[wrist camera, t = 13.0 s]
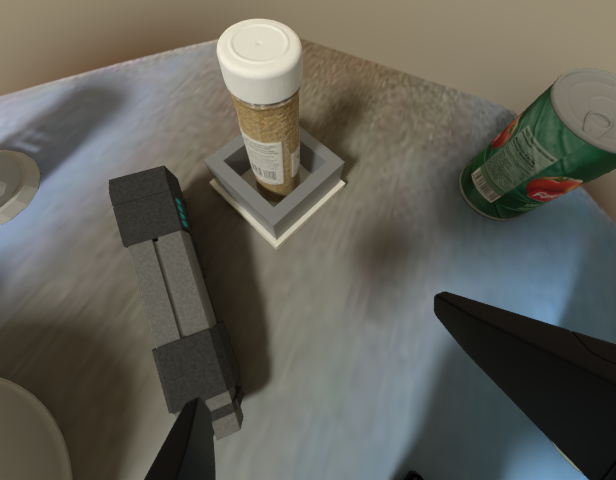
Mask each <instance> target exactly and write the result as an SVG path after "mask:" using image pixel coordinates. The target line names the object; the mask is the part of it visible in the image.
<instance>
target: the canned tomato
mask: <svg viewBox="0 0 616 480" xmlns="http://www.w3.org/2000/svg"><path fill="white" fill-rule="evenodd" d="M614 169H616V74H614V73H611V72H607V71H604V70H599V69H591V68H582V69H574V70H571V71H568V72H566V73H564V74H562V75H561V76H560V77H559V78H558V79H557V80H556V81H555V82H554V83H553V84H552V85H551V86H550V87H549V88H548V89H547V90H546V91H545V92H544V93H543V94H542V95H540V96H539V97H538V98H537V99H536V100H535V101H534V102H533V103H532V104H531V105H530V106H529V107H528V108H527V109H526V110H525V111H524V112H523V113H522V114H520V115H519V116H518V117H517V118H516V119H515V120H514V121H513V122H512V123H511V124H510V125H509V126H508V127H506V129H505V130H504V131H503V132H501V133H500V134H499V135H498V136H497V137H496V138H495V139H494V140H493V141H492V142H491V143H490V144H489V145H488V146H487V147H486V148H485V149H483V150H482V151H481V152H480V153H479V154H478V155H477V156H476V157H475V158H474V159H473V160H472V161H471V162H470V163H469V164H467V165H466V166H465V167H464V168H463V169H462V171H461V173H460V176H459V187H460V191H461V193H462V196H463V198H464V199H465V200H466V202H467V203H468V204H469V205H470V206H471V207H472V208H473V209H474V210H475V211H477V212H478V213H480V214H481V215H483V216H485V217H488V218H490V219H494V220H499V221H507V220H513V219H515V218H518V217H520V216H521V215H523V214H525V213H527V212H529V211H531V210H533V209H535V208H537V207H539V206H541V205H543V204H545V203H548V202H549V201H551V200H553V199H556V198H558V197H559V196H561V195H563V194H566V193H568V192H569V191H571V190H574V189H576V188H578V187H579V186H581V185H584V184H586V183H588V182H589V181H591V180H594V179H596V178H598V177H600V176H602V175H603V174H606V173H609V172H610V171H612V170H614Z"/></svg>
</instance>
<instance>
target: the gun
mask: <svg viewBox="0 0 616 480" xmlns="http://www.w3.org/2000/svg"><path fill="white" fill-rule="evenodd" d="M109 191H110V192H109V194H110V198H111V202H112V205H113V206H114V208H113V209H114V213H115V216H116V220H117V223H118V227H119V231H120V234H121V238H122V242H123V245H124V246H125V247H127V248H128V250H129V253H130V257H131V260H132V264H133V268H134V271H135V275H136V279H137V282H138V286H139V289H140V293H141V297H142V300H143V304H144V308H145V311H146V315H147V318H148V322H149V326H150V329H151V333H152V337H153V340H154V344H155V349H153V350H152V352H153V356H154V359H155V363H156V367H157V370H158V374H159V378H160V381H161V385H162V388H163V392H164V396H165V399H166V403H167V407H168V410H169V413H173V414H175V416H176V419H177V418H178V416H179V414H180V412H181V410H182V408H183V406H184V405H185V403H186V402H188V401H189V400H192V399H194V398H196V397H200V398H201V399H202V400H203V401H204V403H205V404H206V405H207V407H208V408H209V409H210V411H211V415H212V426H213V436H214V434H215V436H216V439H217V440H219V439H221V438H223V437H226V436H228V435H230V434H232V433H234V432H237V431H239V430H240V428H241V425H242V421H243V413H242V410H241V407H240V405H241V402H242V399H243V396H244V392H243V389H242V386H235V385H236V382H237V380H238V377H239V375H240V373H239V370H238V366H237V363H236V360H235V357H234V353H233V350H232V347H231V344H230V341H229V337H228V334H227V331H226V328H225V324H224V321H221V322H218V321H217V318H216V315H215V312H214V308H213V305H212V302H211V299H210V295H209V292H208V289H207V286H206V282H205V279H204V277H206V276H205V273H204V270H203V267H202V263H201V260H200V257H199V254H198V250H197V247H196V244H195V241H194V238H193V233H192V230H191V226H190V223H189V220H188V215H187V213H186V210H185V209H186V203H185V200H184V198H183V195H182V191H181V188H180V185H179V182H178V179H177V178H176V177H175V176H174V175H173V174H172V173H171V172H170V171H169V170H168V169H167V168H166V167H165V166H160V167H157V168H153V169H149V170H145V171H141V172H138V173H134V174H130V175H126V176H123V177H119V178H115V179H111V180H109Z"/></svg>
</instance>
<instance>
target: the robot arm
mask: <svg viewBox="0 0 616 480" xmlns="http://www.w3.org/2000/svg"><path fill="white" fill-rule="evenodd" d="M434 312H435V315H436V316H437V318H438V319H439V320H440V321H441V323H442V324H443V325H444V326H445V328H446V329H447V330H448V331H449V333H450V334H451V335H452V336H453V338H454V339H455V340H456V341H457V343H458V344H459V345H460V346H461V347H462V349H463V350H464V351H465V352H466V353H467V354H468V355H469V356H470V357H471V358H472V359H473V360H474V361H475V362H476V364H477V365H478V366H479V367H480V368H481V369H482V370H483V371H484V372H485V373H486V374H487V375H488V376H489V377H490V378H491V379H492V380H493V381H494V382H495V383H496V384H497V385H498V386H499V387H500V388H501V389H502V390H503V391H504V392H505V394H506V395H507V396H508V397H509V398H510V399H511V400H512V401H513V402H514V403H515V404H516V405H517V406H518V407H519V408H520V409H521V410H522V411H523V412H524V413H525V414H526V415H527V416H528V417H529V418H530V419H531V420H532V421H533V422H534V424H535V425H536V426H537V427H538V428H539V429H540V430H541V431H542V432H543V433H544V434H545V435H546V436H547V437H548V438H549V439H550V440H551V441H552V442H553V443H554V444H555V445H556V446H557V447H558V448H559V449H560V450H561V451H562V452H563V454H564V455H565V456H566V457H567V458H568V459H569V460H570V461H571V462H572V463H573V464H574V465H575V466H576V467H577V468H578V469H579V470H580V471H581V472H582V473H583V474H584V475H585V476H586V477H587V478H588V479H589V480H616V344H613V343H610V342H606V341H603V340H600V339H596V338H593V337H590V336H586V335H583V334H580V333H577V332H574V331H572V332H571V331H570V330H567V329H564V328H561V327H558V326H554V325H551V324H548V323H545V322H542V321H538V320H535V319H532V318H529V317H526V316H522V315H519V314H516V313H513V312H510V311H507V310H503V309H500V308H497V307H494V306H491V305H487V304H484V303H481V302H478V301H475V300H471V299H468V298H465V297H462V296H459V295H455V294H452V293H449V292H441V293H439V294H436V295H435V296H434ZM414 478H417V480H424V479H423V478H422V477H421V476H420V475H419V474H418V473H417V472H416V471H413V470H412V471H410V472H409V473H408V474H407V476H406V477H405V479H404V480H413V479H414ZM144 480H215V454H214V440H213V426H212V415H211V411H210V409H209V408H208V407H207V405H206V404H205V403H204V401H203V400H202V399H201V398H200V397H196V398H194V399H192V400H189V401H188V402H186V403H185V405H184V406H183V408H182V410H181V412H180V414H179V416H178V418H177V419H176V421H175V423H174V425H173V427H172V429H171V431H170V432H169V434H168V436H167V438H166V440H165V442H164V444H163V445H162V447H161V449H160V451H159V453H158V455H157V457H156V458H155V460H154V462H153V464H152V466H151V468H150V470H149V471H148V473H147V475H146V477H145V479H144Z"/></svg>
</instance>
